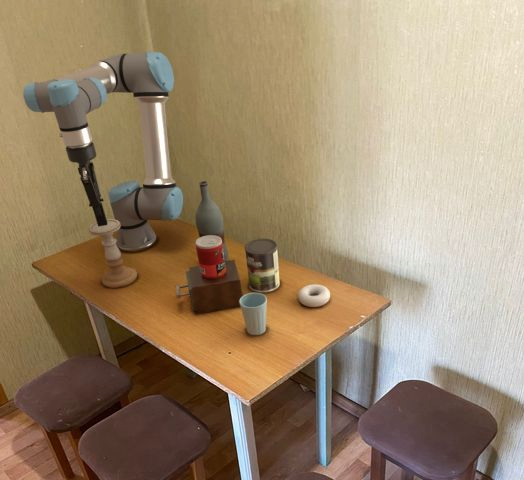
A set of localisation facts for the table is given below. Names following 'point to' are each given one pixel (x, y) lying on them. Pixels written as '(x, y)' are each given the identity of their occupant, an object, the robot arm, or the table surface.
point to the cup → (254, 312)
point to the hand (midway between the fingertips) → (102, 224)
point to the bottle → (209, 217)
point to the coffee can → (262, 265)
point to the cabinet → (216, 289)
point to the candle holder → (113, 256)
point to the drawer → (178, 293)
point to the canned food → (211, 256)
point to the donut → (314, 301)
